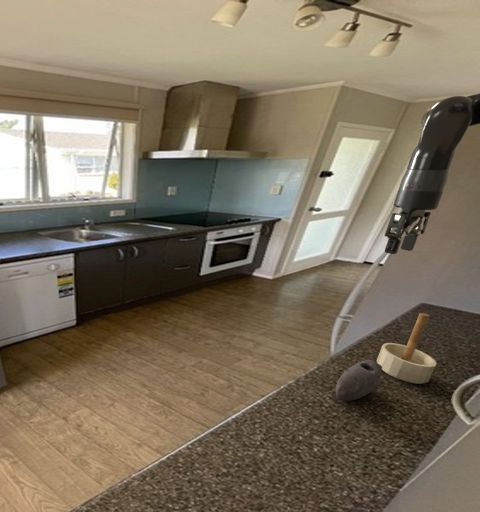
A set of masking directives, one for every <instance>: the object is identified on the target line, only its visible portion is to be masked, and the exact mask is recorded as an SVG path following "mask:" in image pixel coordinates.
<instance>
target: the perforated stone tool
mask: <svg viewBox="0 0 480 512" xmlns="http://www.w3.org/2000/svg"><path fill="white" fill-rule="evenodd" d="M382 374H383V370H382V366H381V365H379V364H378V363H377V361H375V360H374V359H366V360H362V361H359V362H357V363H355V364H354V365H352V366H350V367H348V368H347V369H345V371H344V372H343V373H342V374H341V375H340V377H339V379H338V380H337V382H336V385H335V396H336V398H337V399H339V400H340V401H347V402H349V401H355V400H358V399H361V398H363V397H365V396H367V395H369V394H370V393H371V394H372V392H374V391H375V390H377V388H379V387H380V386H381V384H382V378H381V376H382Z"/></svg>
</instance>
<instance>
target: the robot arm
mask: <svg viewBox="0 0 480 512" xmlns="http://www.w3.org/2000/svg"><path fill="white" fill-rule="evenodd" d="M420 124H421V128H422V131H421V133H420V137H419V140H418V143H417V145H416V146H415V147H414V149H413V151H412V153H411V155H410V157H409V161H408V164H407V168H406V169H405V172H404V174H403V176H402V178H401V181H400V184H399V187H398V190H397V193H396V196H395V199H394V202H393V206H394V207H395V208H400V209H401V210H400V211H399V213H398V212H397V213H396V212H393V213H391V214H390V215H391V216H390V218H389V222H388V224H387V226H386V230H385V231H384V237H386V238H387V242H386V245H385V248H384V253H386V254H390V255H397V254H398V252H399V248H400V249H401V250H404V251H407V252H411V251H413V250H414V248H415V246H416V243H417V239H418V238H420V237H421V235H424V233H425V232H426V228H427V225H428V222H429V219H430V217H431V215H432V213H431V211H434V210H437V209H438V207H439V204H440V201H441V199H442V196H443V194H444V191H445V188H446V186H447V183H448V180H449V175H450V170H451V168H452V165H453V162H454V160H455V156H456V154H457V151H458V147H459V145H460V143H461V142H462V140H463V138H464V136H465V135H466V133H467V131H468V130H469V129H468V128H469V127H472V126H476V125H477V126H478V125H480V93H479V92H478V93H476V94H475V93H474V94H471V95H467V96H465V95H453V96H449V97H446V98H443V99H441V100H439V101H437V102H436V103H435V104H433V105H432V106H431V107H429V108H428V109H427V110H426V111H425V112H424V114H423V115H422V116H421V120H420Z"/></svg>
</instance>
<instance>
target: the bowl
mask: <svg viewBox="0 0 480 512" xmlns="http://www.w3.org/2000/svg"><path fill="white" fill-rule="evenodd" d="M406 346H407V345H405V344H400V343H396V342H395V343H394V342H386V343H383V344H382V345H381V348H380V350H379V354H378V356H377V358H376V363H378V364H379V365H381V366H382V372H384V373H386V374H387V375H389V376H391V377H393V378H395V379H398V380H400V381H403V382H406V383H410V384H415V385H422V384H426V383H429V381H430V380H431V377H432V375H433V373H434V371H435V369H436V366H437V364H438V363H437V361H436V359H434V358H433V357H432V356H430V355H429V354H427V353H426V352H424V351H421V350H419V349H417V348H416V349H415V352H414V354H413V356H412V359H411V361H410V362H408V361H405V360H403V359H401V358H402V356H403V353H404V351H405V349H406Z"/></svg>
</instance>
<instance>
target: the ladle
mask: <svg viewBox="0 0 480 512" xmlns="http://www.w3.org/2000/svg"><path fill="white" fill-rule="evenodd" d="M429 318H430V315H429V314H428V313H424V312H419V313H418V317H417V320H416V321H415V324H414V327H413V329H412V331H411V334H410V336H409V338H408V341H407V344H406V345H405V346H406V349H405V351H404V353H403V356H402V358H401V359H403V360H405V361H408V362H410V361H411V359H412V356H413V354H414V352H415V349H417V347H418V344H419V342H420V339H421V337H422V335H423V332H424V330H425V328H426V325H427V323H428V321H429Z"/></svg>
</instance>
